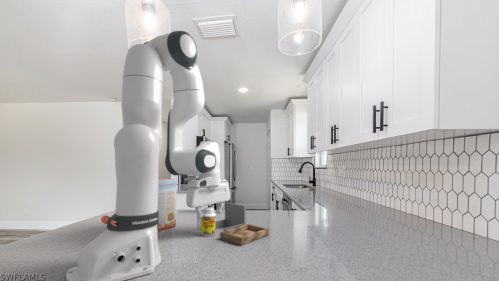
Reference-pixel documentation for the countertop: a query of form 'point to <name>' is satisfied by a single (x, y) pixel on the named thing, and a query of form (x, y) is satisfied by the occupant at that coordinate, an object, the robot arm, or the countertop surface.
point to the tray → (244, 234)
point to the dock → (233, 216)
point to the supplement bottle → (208, 222)
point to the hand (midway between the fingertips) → (210, 215)
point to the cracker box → (167, 203)
